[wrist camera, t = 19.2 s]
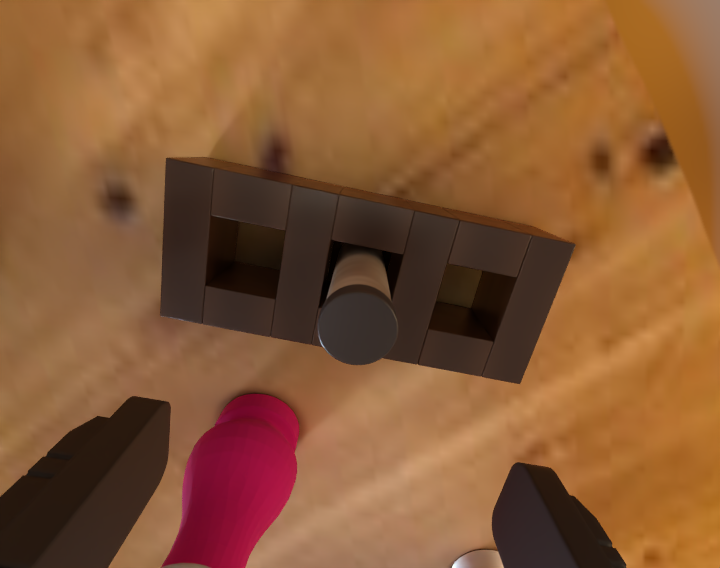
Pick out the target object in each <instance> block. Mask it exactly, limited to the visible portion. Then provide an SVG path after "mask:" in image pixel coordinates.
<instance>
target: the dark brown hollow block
mask: <svg viewBox="0 0 720 568" xmlns="http://www.w3.org/2000/svg"><path fill="white" fill-rule="evenodd" d="M239 221H241V222H246V223H251V224H256V225H261V226H266V227H270V228H275V229H280V230H286V232H285V239H284V246H283V253H282V260H281V267H280V270H274V269H269V268H264V267H259V266H254V265H249V264H244V263H239V262H235V252H236V242H237V232H238V222H239ZM334 241H339V242H344V243H349V244H354V245H359V246H364V247H368V248H373V249H378V250H383V251H388V252H392V255H391V259H390V263H389V267H388V272H387V280H388V285H389V291H390V296H391V301H392V304H393V305H394V308H395V311H396V315H397V320H398V336H397V339H396V342H395V344H394V346H393V347H392V349H391V350H390V351H389V352H388V353H387V354H386V355H385V356H384V357H383V358H385V359H390V360H396V361H401V362H406V363H411V364H418V365H422V366H428V367H433V368H438V369H444V370H449V371H454V372H459V373H465V374H470V375H475V376H482V377H485V378H490V379H495V380H501V381H506V382H511V383H517V384H520V383H521V380H522V378H523V375H524V373H525V370H526V368H527V365H528V363H529V360H530V358H531V355H532V353H533V350H534V348H535V345H536V343H537V340H538V338H539V335H540V333H541V330H542V328H543V325H544V323H545V320H546V318H547V315H548V313H549V310H550V308H551V305H552V303H553V300H554V298H555V295H556V293H557V290H558V288H559V286H560V283H561V281H562V278H563V276H564V273H565V271H566V268H567V266H568V263H569V261H570V258H571V256H572V253H573V251H574V248H575V246H576V244H574V243H572V242H569V241H567V240H565V239H562V238H560V237H557V236H555V235H553V234H550V233H548V232H545V231H543V230H541V229H538V228H536V227H532V226H527V225H523V224H518V223H513V222H509V221H504V220H499V219H494V218H490V217H485V216H480V215H476V214H471V213H466V212H461V211H457V210H452V209H447V208H441V207H438V206H433V205H429V204H424V203H419V202H414V201H410V200H404V199H400V198H396V197H391V196H386V195H382V194H377V193H372V192H367V191H363V190H358V189H353V188H349V187H343V186H339V185H334V184H330V183H325V182H320V181H316V180H311V179H306V178H302V177H297V176H292V175H288V174H283V173H278V172H273V171H269V170H264V169H259V168H255V167H250V166H243V165H240V164H236V163H231V162H226V161H221V160H217V159H212V158H207V157H194V158H166V173H165V200H164V227H163V255H162V282H161V309H160V316H162V317H168V318H173V319H178V320H184V321H189V322H194V323H199V324H202V323H203V324H204V325H209V326H214V327H220V328H225V329H230V330H236V331H241V332H246V333H252V334H257V335H262V336H267V337H270V336H271V337H273V338H279V339H284V340H289V341H294V342H300V343H305V344H312V345H315V346H320V347H323V346H322V344H321V342H320V339H319V336H318V331H317V325H318V319H319V316H320V312H321V309H322V306H323V304H324V302H325V301H326V299H327V295H328V292H329V288H330V284H331V281H330V280H327V277H328V271H329V266H330V261H331V255H332V250H333V244H334ZM447 263H448V264H452V265H457V266H462V267H467V268H472V269H477V270H482V271H483V274H482V277H481V280H480V283H479V286H478V289H477V292H476V295H475V298H474V301H473V305H472V308H471V309H470V308H465V307H460V306H455V305H450V304H445V303H440V302H436V299H437V295H438V292H439V288H440V285H441V282H442V278H443V275H444V271H445V268H446V264H447Z"/></svg>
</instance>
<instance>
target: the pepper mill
mask: <svg viewBox="0 0 720 568" xmlns="http://www.w3.org/2000/svg"><path fill="white" fill-rule="evenodd" d="M298 436H299V423H298V420H297V418H296V416H295V414H294V412H293V411H292V410H291V409H290V408H289V407H288V406H287V405H286V404H285V403H284V402H282V401H281V400H279V399H277V398H275V397H272V396H269V395H265V394H256V393H255V394H247V395H243V396H240V397H238V398H236V399H234V400H232V401H231V402H230V403H229V404H228V405H227V406H226V407H225V408H224V410H223V411H222V413H221V415H220V417H219V418H218V420H217V422H216V424H215V426H214V427H213V428H211V429H210V430H208V431H207V432H206V433H205V434H204V435H203V436H202V437H201V438H200V439H199V440H198V442H197V443H196V445H195V446H194V448H193V451H192V453H191V455H190V457H189V459H188V462H187V466H186V469H185V475H184V481H183V490H182V521H181V525H180V529H179V533H178V535H177V537H176V540H175V542H174V544H173V546H172V549H171V551H170V553H169V555H168V556H167V558H166V560H165V561H164V563H163V565H162V566H161V568H245V567H246V564H247V561H248V558H249V555H250V554H251V552H252V550H253V548H254V546H255V545H256V543H257V542H258V540H259V539H260V538H261V536H262V535H263V534H264V532H265V531H266V530H267V529H268V527H269V526H270V525H271V524H272V523H273V521H274V520H275V519H276V518H277V517H278V516H279V514H280V512H281V511H282V509H283V507H284V506H285V504H286V502H287V501H288V499H289V497H290V494H291V492H292V489H293V486H294V483H295V480H296V474H297V462H296V457H295V454H294V452H295V449H296V445H297V440H298Z"/></svg>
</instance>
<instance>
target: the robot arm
mask: <svg viewBox="0 0 720 568" xmlns="http://www.w3.org/2000/svg"><path fill="white" fill-rule="evenodd" d="M170 413H171V407H170V403H169V402H166V401H160V400H154V399H148V398H143V397H137V396H132V397H130V398H129V399H128V400H126V401H125V402H124V404H123V405H122V406H121V407H120V408H119V409H118V410H117V411H116V412H115V413H114V414H113V415H112V416H111V417H110V418H106V417H100V416H97V417H95V418H93V419H92V420H90V421H88V422H86V423H84V424H83V425H81V426H79V427H77V428H75V429H73V430H72V431H70V432H69V433H68V434H67V435H65V436H64V437H63V438H62V439H61V440H60V441H59V442H58V443H57V444H56V445H55V446H54V447H53V448H52V449H51V450H50V451H49V452H48V453H47V456H46V457H42V458H41V459H40V460H39V461H38V462H37V463H36V464H35V465H34V466H33V467H32V468H31V469H29V470H28V473H27V475H26V476H22V477H21V478H20V479H19V480H18V481H17V482H16V483H15V484H14V485H13V486H11V487H10V488H9V489H8V490H7V491H6V492H5V493H4V494H3V495H2V496H1V497H0V568H108V566H109V565H110V563H111V562H112V560H113V558H114V557H115V555H116V553H117V552H118V550H119V549H120V547H121V545H122V544H123V542H124V540H125V539H126V537H127V536H128V534H129V532H130V531H131V529H132V527H133V526H134V524H135V523H136V521H137V519H138V518H139V516H140V514H141V513H142V511H143V510H144V508H145V506H146V505H147V503H148V501H149V500H150V498H151V497H152V495H153V493H154V492H155V490H156V488H157V487H158V485H159V483H160V481H161V479H162V476H163V474H164V471H165V468H166V465H167V460H168V452H169V433H170ZM492 531H493V537H494V540H495V544H496V546H497V549H498V552H499V555H500V558H501V561H502V564H503V567H504V568H626V563H625V562H624V560H623V559H622V557H621V556H620V554H619V553H618V551H617V550H616V548H613V547H612V542H611V540H610V539H609V537H608V536H607V534H606V533H605V531H604V530H603V528H602V527H601V525H600V523H599V522H598V520H597V519H596V518H595V517H594V516H593V515H592V514H591V513H590V512H589V511H588V510H587V509H586V508H585V507H584V506H583V505H582V504H581V503H580V502H579V501H578V500H577V499H576V498H575V497H574V496H571V495H569V494H568V492H567V491H566V489H565V487H564V486H563V484H562V482H561V481H560V479H559V478H558V476H557V474H556V473H555V472H554V471H553V470H552V469H551V468H549V467H543V466H537V465H531V464H525V463H520V462H517V463H515V464H514V465H513V466H512V468H511V470H510V472H509V474H508V477H507V479H506V482H505V484H504V486H503V489H502V491H501V493H500V496H499V498H498V500H497V503H496V505H495V508H494V510H493V516H492Z"/></svg>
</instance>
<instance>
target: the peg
mask: <svg viewBox="0 0 720 568" xmlns="http://www.w3.org/2000/svg"><path fill="white" fill-rule="evenodd" d="M317 331H318V336H319V339H320V342H321V344H322V346H323V347H324V349H325V350H326V351H327V352H328V353H329V354H330V355H331V356H332V357H334V358H335V359H337V360H339V361H341V362H343V363H347V364H351V365H365V364H370V363H373V362H375V361H377V360H379V359H381V358H383V357H384V356H385V355H386V354H387V353H388V352H389V351H390V350H391V349H392V347H393V346H394V344H395V342H396V339H397V336H398V320H397V315H396V311H395V308H394V305H393V304H392V301H391V296H390V291H389V285H388V280H387V274H386V269H385V263H384V258H383V253H382V250H378V249H373V248H368V247H364V246H359V245H354V244H349V243H344V244H343V245H342V247H341V248H340V251H339V254H338V258H337V262H336V265H335V269H334V273H333V277H332V280H331V284H330V288H329V292H328V295H327V299H326V301H325V302H324V304H323V306H322V309H321V312H320V316H319V319H318V325H317Z"/></svg>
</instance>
